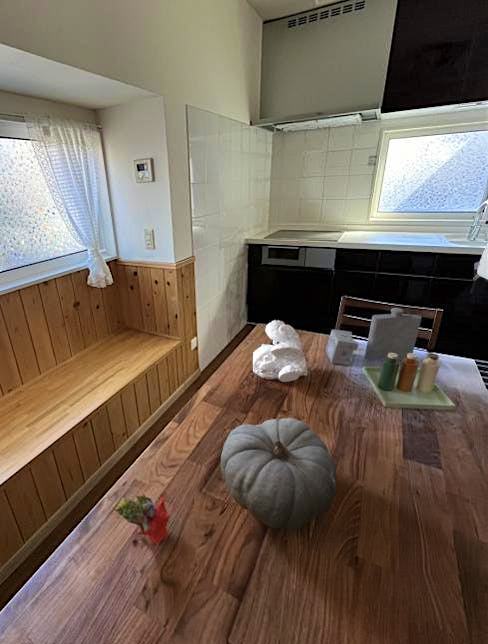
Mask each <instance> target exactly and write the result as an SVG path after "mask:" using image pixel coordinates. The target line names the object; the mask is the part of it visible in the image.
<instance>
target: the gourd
mask: <svg viewBox="0 0 488 644" xmlns="http://www.w3.org/2000/svg"><path fill="white" fill-rule="evenodd" d="M220 471H221V475H222V478H223V480H224V481H225V484H226V487H227V489H228V491H229V492H230V494H231V497H232V498H233V500H234V501H235V502H236V503H237V504H238V505H239V506H240V507H241V508H242V509H244V510H246V511H248V512H249V513H250V514H251V516H253V518H255V519H257V520H258V521H259V522H260V523H262V524H264V525H265V526H266V527H269V528H271V529H275V530H280V529H283V530H286V531H287V530H289V531H294V530H297V529H299V528H301V527H302V526H304V525H306V524H308V523H310V522H312V521H314V520H315V519H317V520H318V519H319V518H321V517H323V516H325V515H326V514H327V513H328V512H329V511H330V508H331V507H332V505H333V504H332V503H333V501H334V498H335V495H336V491H337V466H336V463H335V460H334V458H333V456H331V454H330V452H329V448H328V447H327V445H326V443H325V442H324V440H323V439H322V438H321V437H320V436H319V435H318V434H317V433H316V432H314V431H313V430H311V428H310V427H309V426H308V425H307V424H305V423H304V422H303V421H301V420H298V419H295V418H293V417H285V418H284V417H283V418H279V419H276V418H272V419H267V420H264V421H263V422H262V423H261V424H255V425H254V424H248V423H245V424H240V425H239V426H236V427H235V428H234V429H232V430H231V431H230V433H229V434H228V435H227V438H226V440H225V441H224V443H223V446H222V452H221V454H220Z"/></svg>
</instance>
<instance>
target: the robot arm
mask: <svg viewBox="0 0 488 644" xmlns="http://www.w3.org/2000/svg"><path fill="white" fill-rule="evenodd" d="M473 266H474V267H473V268H474V269H473V275H474V276H473V283H472V286H471V289H470V294H471V295H484V294H485V290H486V287H487V284H488V243H487V244H486V246H485V248H484V249H483V252H482V255H481V257H480V260H479V261H477V262H475V263H474V264H473Z"/></svg>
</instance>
